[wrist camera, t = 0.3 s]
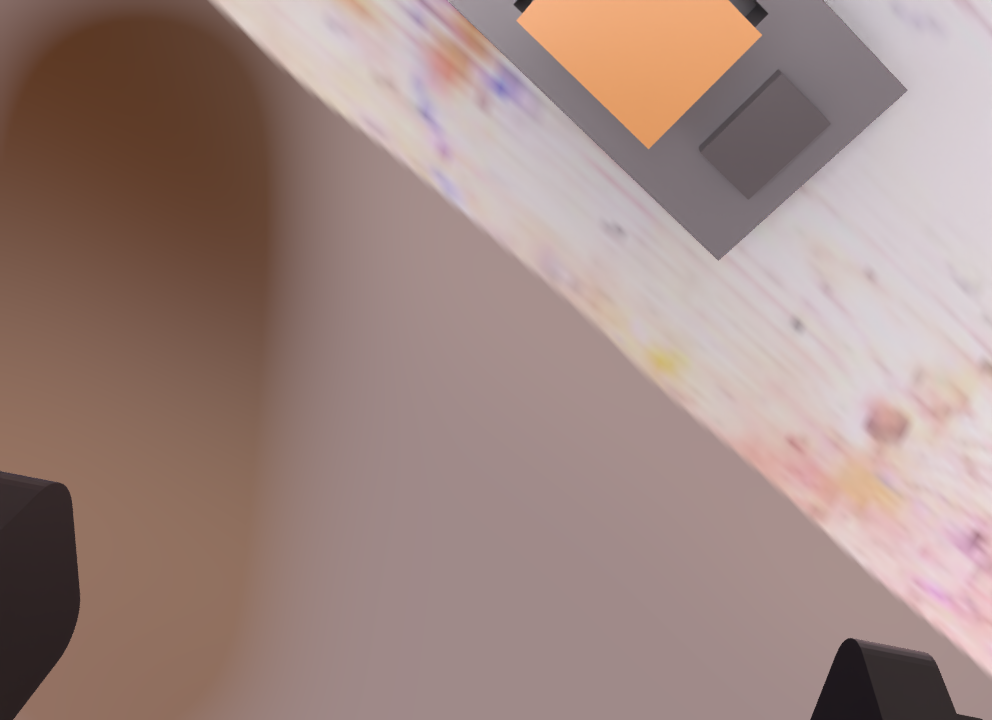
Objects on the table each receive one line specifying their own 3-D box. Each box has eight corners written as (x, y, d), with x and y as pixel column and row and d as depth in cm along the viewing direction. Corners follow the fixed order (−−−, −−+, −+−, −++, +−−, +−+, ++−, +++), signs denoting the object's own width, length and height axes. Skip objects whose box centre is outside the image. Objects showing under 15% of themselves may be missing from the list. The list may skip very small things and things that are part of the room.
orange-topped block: (547, -5, 29) (516, 20, 22) (630, -101, 28) (624, -107, 21) (647, 94, 30) (648, 149, 23) (733, 5, 29) (761, 35, 21)
